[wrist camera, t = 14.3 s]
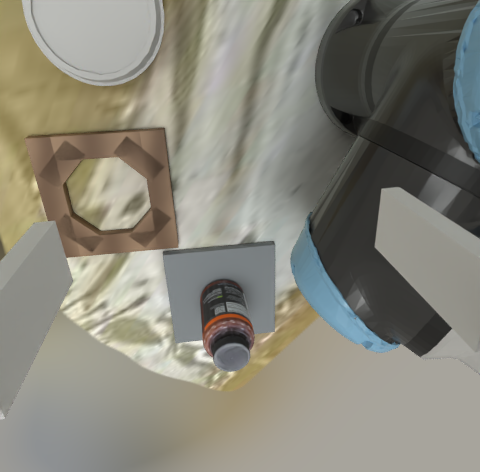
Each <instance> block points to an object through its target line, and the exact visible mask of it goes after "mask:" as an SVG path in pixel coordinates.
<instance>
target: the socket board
mask: <svg viewBox="0 0 480 472" xmlns="http://www.w3.org/2000/svg"><path fill="white" fill-rule="evenodd" d="M25 143H26V146H27V150H28V153H29V156H30V160H31V163H32V167H33V170H34V174H35V177H36V181H37V184H38V188H39V191H40V195H41V198H42V202H43V205H44V209H45V212H46V216H47V219H48V221H55V222H56V225H57V229H58V232H59V236H60V239H61V242H62V246H63V249H64V252H65V256H66V258H68V257H79V256H90V255H101V254H112V253H123V252H134V251H145V250H156V249H167V248H178V235H177V227H176V219H175V211H174V202H173V194H172V186H171V178H170V170H169V162H168V154H167V146H166V138H165V129H164V128H155V129H139V130H122V131H106V132H90V133H73V134H57V135H41V136H28V137H26V138H25ZM109 157H119V158H120V159H121V160H123V161H124V162H125V163H127V164H128V165H129V166H131V167H132V168H133V169H135V170H136V171H137V172H138V173H140V174H141V175H142V176H144V177H145V178H146V179H147V184H148V190H149V197H150V203H151V208H150V209H149V211H148V212H147V213H146V214H145V215H144V216H143V218H142V219H141V220H140V221H139V222H138V223H137V225H136V226H135V227H134V228H132V229H120V230H109V231H100V230H99V229H97V228H96V227H94V226H93V225H91V224H90V223H88V222H87V221H85V220H84V219H82V218H81V217H79V216H78V215H76V214H75V213H73V209H72V206H71V202H70V198H69V194H68V190H67V186H66V180H67V179H68V178H69V176H70V175H71V174H72V172H73V171H74V170H75V169H76V167H77V166H78V165H79V163H80V162H81V161H82V159H94V158H109Z"/></svg>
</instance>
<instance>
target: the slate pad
mask: <svg viewBox="0 0 480 472" xmlns="http://www.w3.org/2000/svg"><path fill="white" fill-rule="evenodd" d="M163 260H164V267H165V274H166V280H167V287H168V294H169V301H170V308H171V315H172V321H173V328H174V335H175V342H176V343H181V342H190V341H198V340H203V337H202V323H201V309H200V297H201V294H202V292H203V290H204V289H205V288H206V287H207V286H208V285H209V284H211V283H213V282H215V281H219V280H228V281H232V282H234V283H236V284H238V285H239V286H240V287H241V288H242V290H243V292H244V295H245V299H246V302H247V306H248V310H249V314H250V318H251V322H252V326H253V331H254V334H259V333H267V332H275V244H274V242H273V241H272V242H261V243H250V244H239V245H228V246H217V247H207V248H196V249H185V250H174V251H163Z"/></svg>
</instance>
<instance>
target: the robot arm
mask: <svg viewBox="0 0 480 472" xmlns="http://www.w3.org/2000/svg"><path fill="white" fill-rule="evenodd" d="M315 80H316V88H317V93H318V97H319V100H320V103H321V105H322V107H323V109H324V111H325V112H326V114H327V116H328V117H329V118H330V119H331V120H332V122H333V123H334V124H336V125H337V126H338V127H339V128H340V129H342V130H344V131H345V132H347V133H349V134H351V135H353V136H355V137H357V139H356V140H355V142H354V144H353V145H352V147H351V149H350V150H349V152H348V154H347V155H346V157H345V159H344V161H343V162H342V164H341V166H340V167H339V169H338V171H337V172H336V174H335V176H334V177H333V179H332V181H331V182H330V184H329V186H328V187H327V189H326V191H325V192H324V194H323V196H322V197H321V199H320V201H319V203H318V204H317V206H316V208H315V209H314V211H313V212H310V214H309V215H308V216H307V218H306V221H305V226H304V228H303V230H302V232H301V234H300V236H299V238H298V240H297V242H296V244H295V246H294V248H293V250H292V253H291V268H292V273H293V275H294V278H295V281H296V284H297V286H298V288H299V289H300V291H301V293H302V294H303V296H304V297H305V299H306V300H307V301H308V303H309V304H310V305H311V306H312V308H313V309H314V310H315V311H316V312H317V313H318V314H319V315H320V316H321V317H322V318H323V319H324V320H325V321H326V322H327V323H328V324H329V325H330V326H331V327H333V328H334V329H335V330H336V331H337V332H339V333H340V334H341V335H343V336H344V337H346V338H347V339H349V340H350V341H352V342H354V343H355V344H362V345H363V346H364V347H365V348H366V349H368V350H370V351H374V352H379V353H383V352H388V351H390V350H392V349H396V348H398V346H399V345H400V344H402V345H404V346H406V347H407V348H408V349H410V350H411V351H412V352H414V353H415V354H416V355H418V356H419V357H421V358H422V359H441V358H453V359H458V360H460V361H461V362H463V363H464V364H465V365H467V366H468V367H470V368H471V369H473V370H474V371H475V372H477V373H478V374H480V0H351V1H350V2H349V3H347V4H346V5H345V6H344V7H343V8H342V9H341V10H340V11H339V13H338V14H337V15H336V16H335V18H334V19H333V21H332V22H331V24H330V25H329V27H328V29H327V30H326V32H325V34H324V37H323V39H322V42H321V44H320V47H319V51H318V55H317V60H316V69H315ZM72 282H73V279H72V276H71V272H70V269H69V266H68V262H67V259H66V256H65V252H64V249H63V246H62V242H61V239H60V236H59V232H58V229H57V225H56V222H55V221H47V222H36V223H34V224H33V225H32V226H31V227H30V228H29V229H28V231H27V232H26V233H25V234H24V235H23V236H22V237H21V238H20V240H19V241H18V242H17V243H16V244H15V245H14V246H13V247H12V249H11V250H10V251H9V252H8V253H7V254H6V255H5V257H4V258H3V259H2V260H1V261H0V419H5V418H6V416H7V414H8V412H9V410H10V408H11V405H12V404H13V401H14V400H15V397H16V395H17V394H18V391H19V389H20V387H21V385H22V383H23V381H24V379H25V377H26V375H27V373H28V371H29V369H30V367H31V365H32V363H33V361H34V359H35V357H36V355H37V353H38V351H39V349H40V347H41V345H42V343H43V341H44V339H45V337H46V335H47V333H48V331H49V329H50V327H51V325H52V323H53V321H54V318H55V316H56V314H57V312H58V310H59V308H60V306H61V304H62V302H63V300H64V298H65V296H66V294H67V292H68V290H69V288H70V286H71V284H72Z"/></svg>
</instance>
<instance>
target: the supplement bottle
mask: <svg viewBox="0 0 480 472" xmlns="http://www.w3.org/2000/svg"><path fill="white" fill-rule="evenodd" d="M200 309H201V323H202V337H203V344H204V348H205V350H206V351H207V353H208V354H209V355H210V356H212V357H213V361H214V363H215V365H216V366H217V367H218V368H219V369H221V370H223V371H229V372H232V371H237V370H239V369H241V368H243V367H244V366H246V364H247V363H248V362H249V359H250V350H251V348H252V346H253V344H254V331H253V326H252V322H251V318H250V314H249V310H248V306H247V302H246V299H245V295H244V292H243V290H242V288H241V287H240V286H239V285H238V284H236V283H234V282H232V281H228V280H219V281H215V282H213V283H211V284H209V285H208V286H207V287H206V288H205V289H204V290H203V292H202V294H201V297H200Z"/></svg>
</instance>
